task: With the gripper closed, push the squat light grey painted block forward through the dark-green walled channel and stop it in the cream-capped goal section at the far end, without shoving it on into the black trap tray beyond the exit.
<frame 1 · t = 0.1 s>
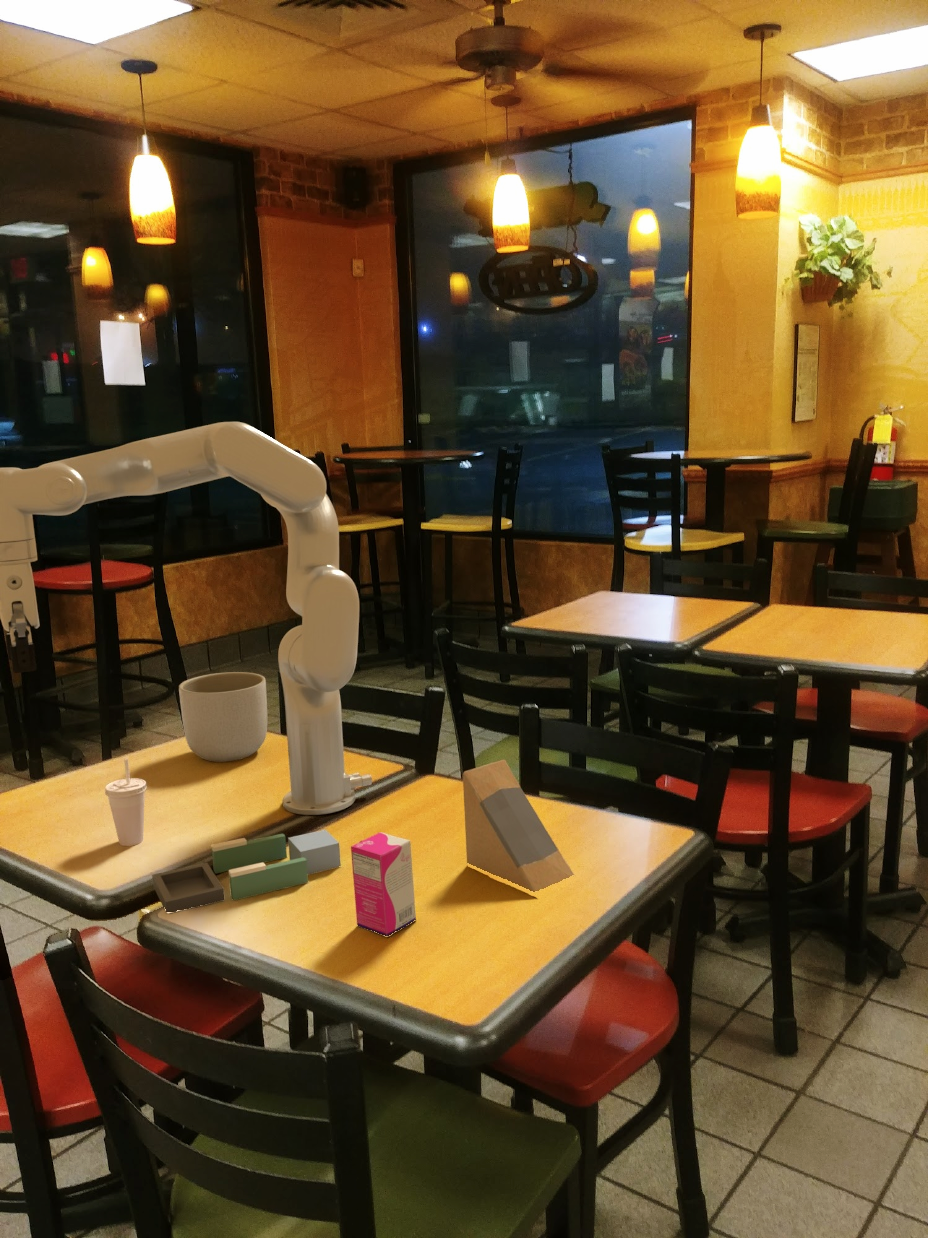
hand: (22, 665, 154), 31 cm above the table, fingers open, 9 cm apart
sandwich container: (521, 876, 149), on the table
trap tray: (188, 893, 147), on the table
smoothie: (131, 842, 166), on the table
tunnel: (260, 876, 151), on the table
block: (315, 865, 155), on the table
supplement box: (386, 925, 136), on the table
planter: (228, 755, 208), on the table
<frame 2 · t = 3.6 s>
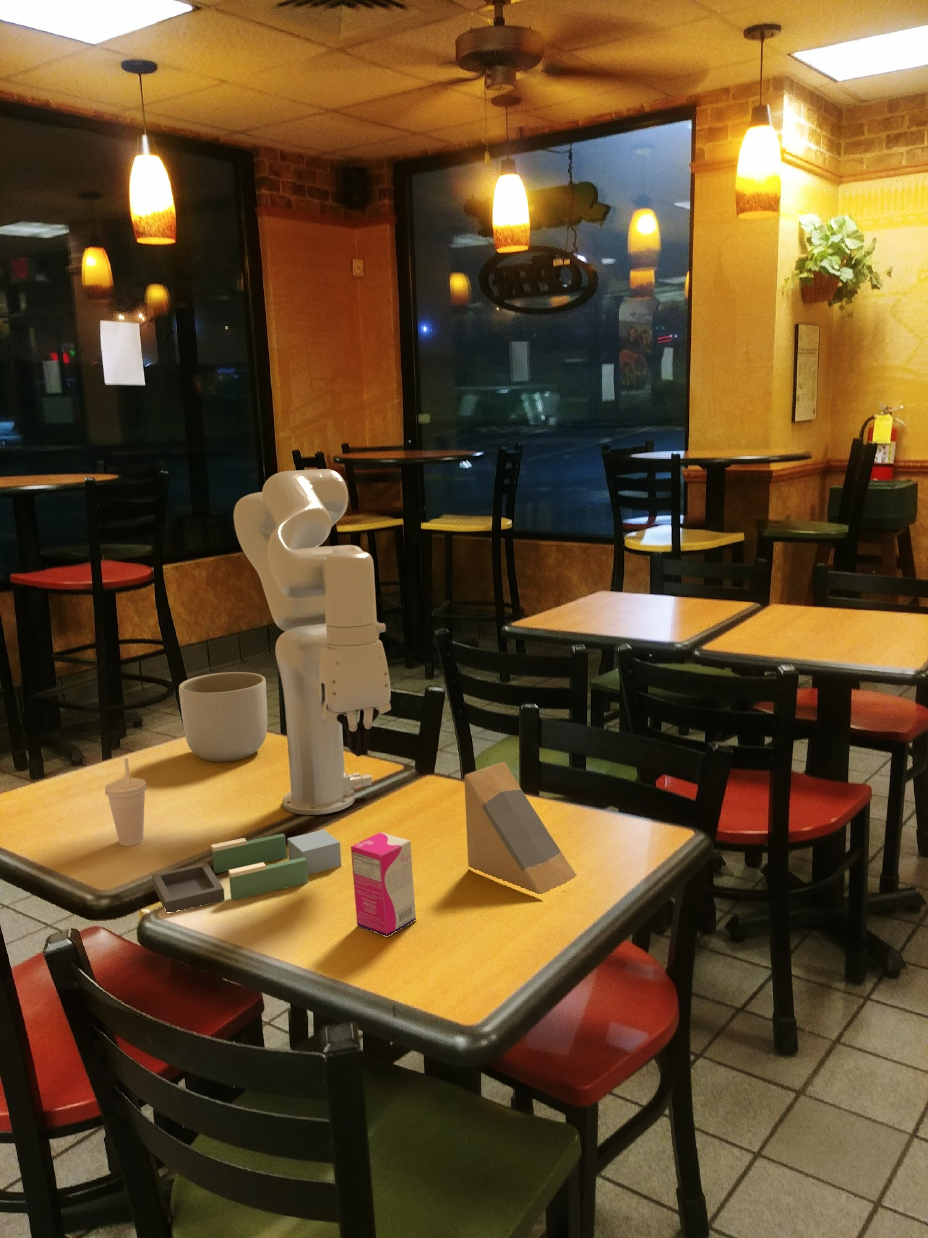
hand: (359, 753, 155), 16 cm above the table, fingers closed
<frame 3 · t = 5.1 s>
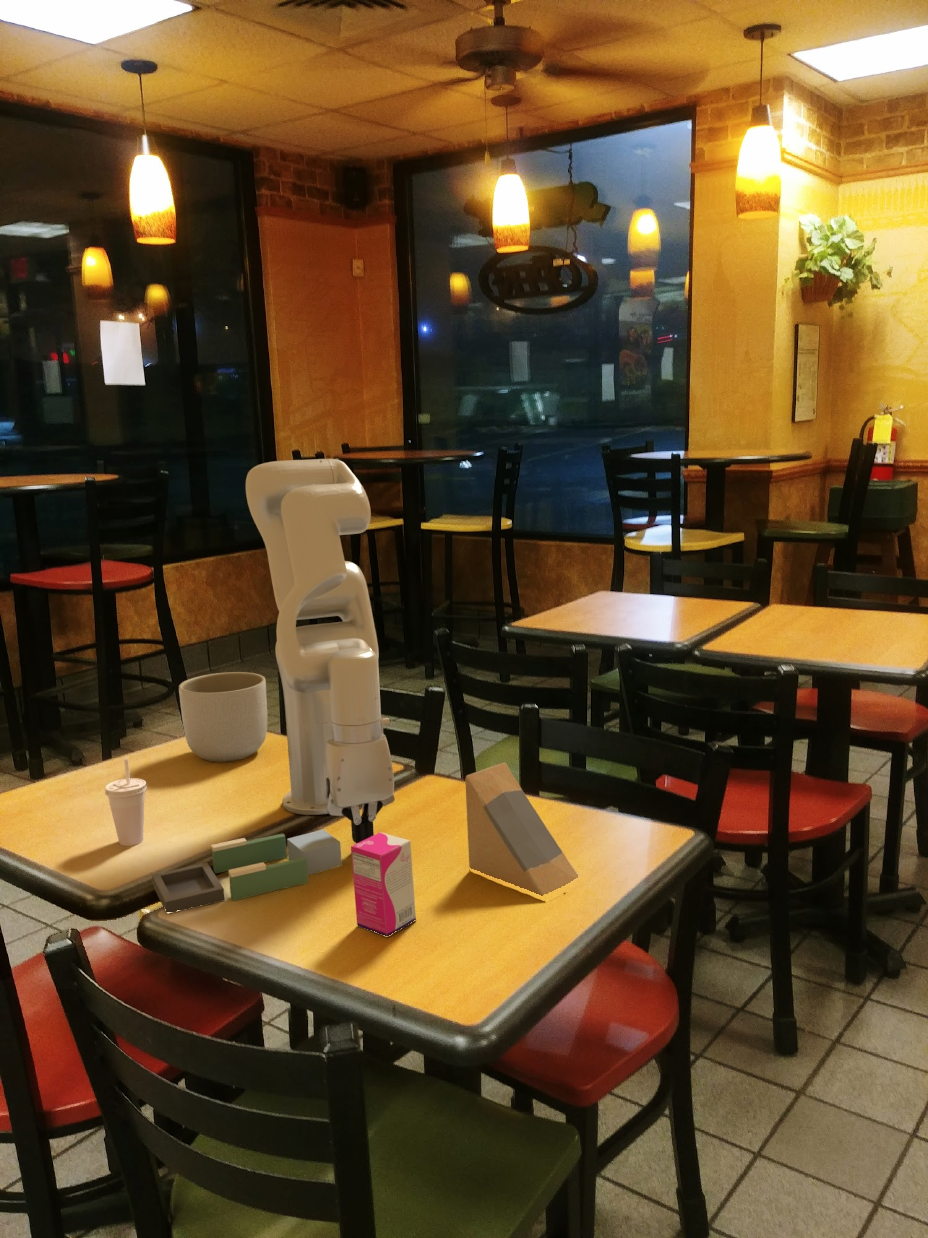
hand: (363, 844, 158), 1 cm above the table, fingers closed
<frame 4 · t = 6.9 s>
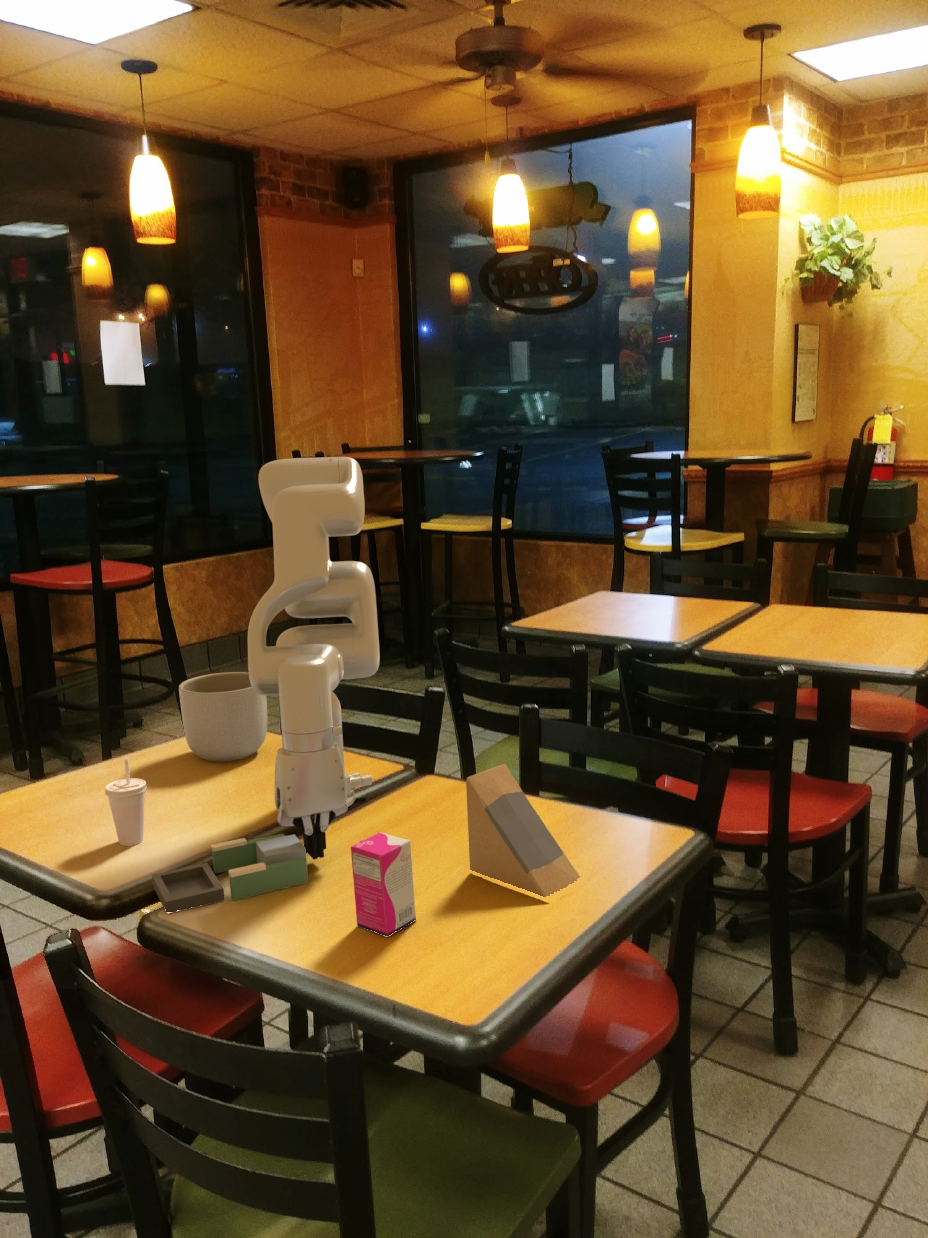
hand: (315, 855, 155), 1 cm above the table, fingers closed
block: (282, 870, 153), on the table
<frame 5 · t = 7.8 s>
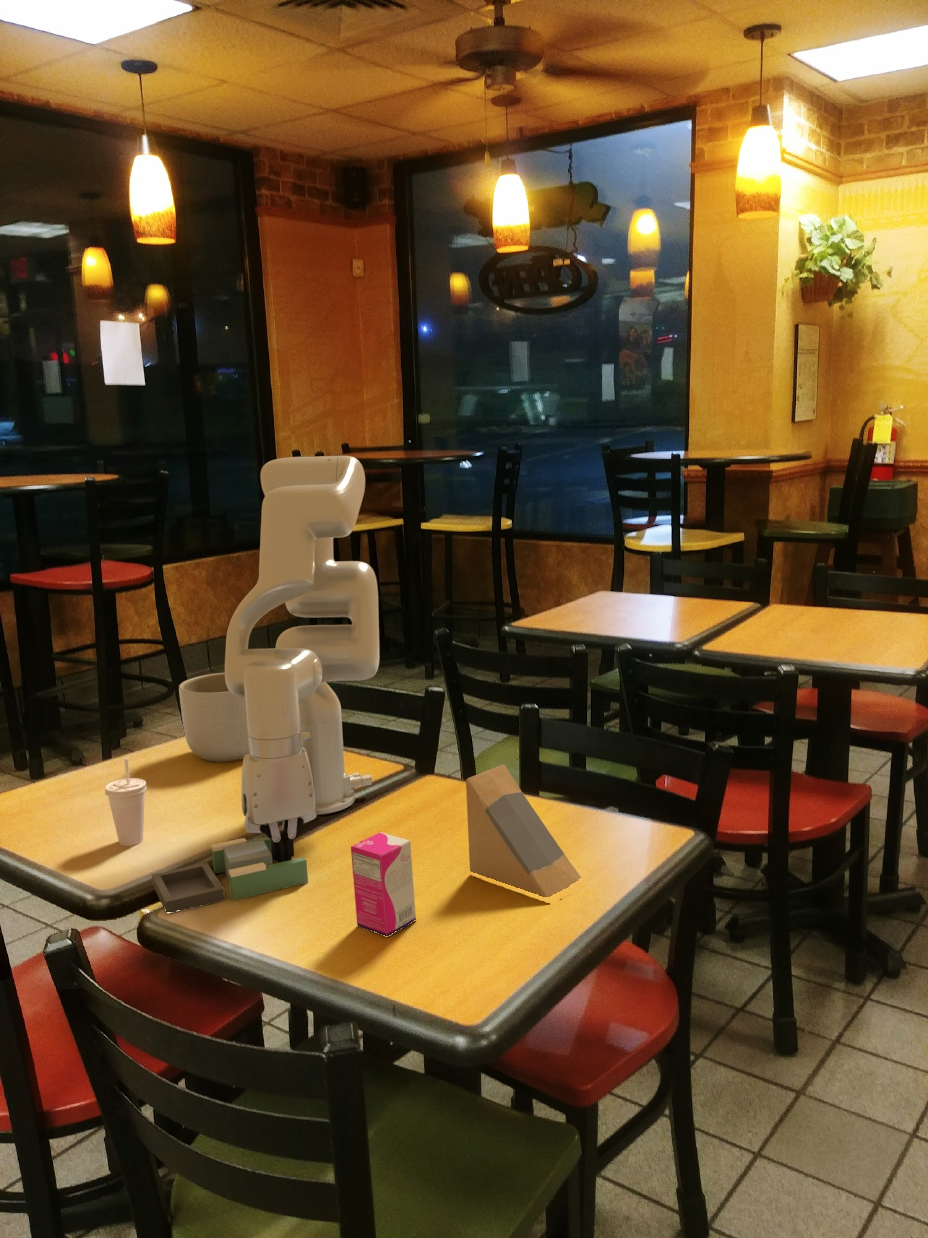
hand: (283, 862, 152), 1 cm above the table, fingers closed
block: (249, 876, 152), on the table, touching gripper
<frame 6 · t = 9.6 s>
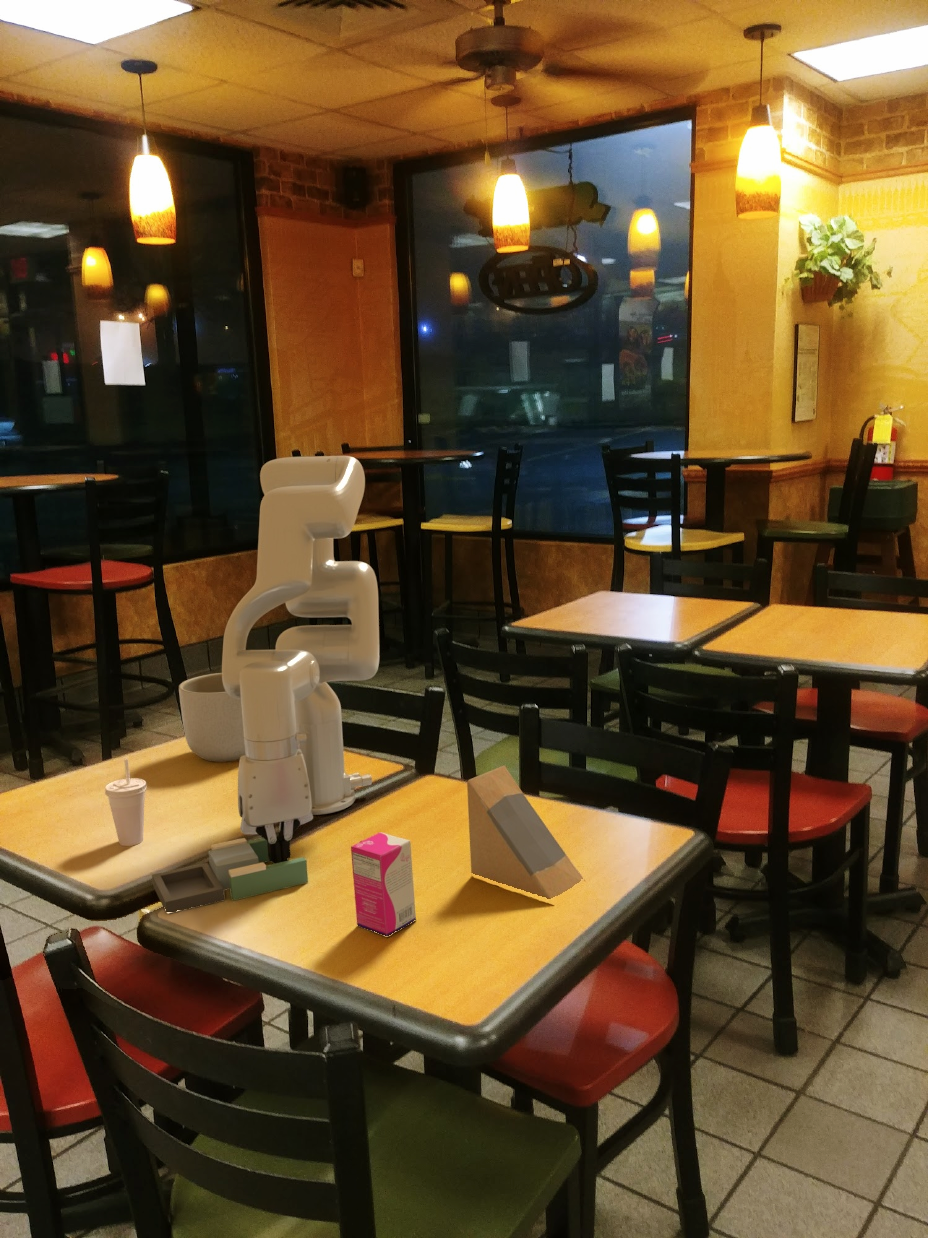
hand: (280, 864, 152), 1 cm above the table, fingers closed
block: (235, 880, 151), on the table
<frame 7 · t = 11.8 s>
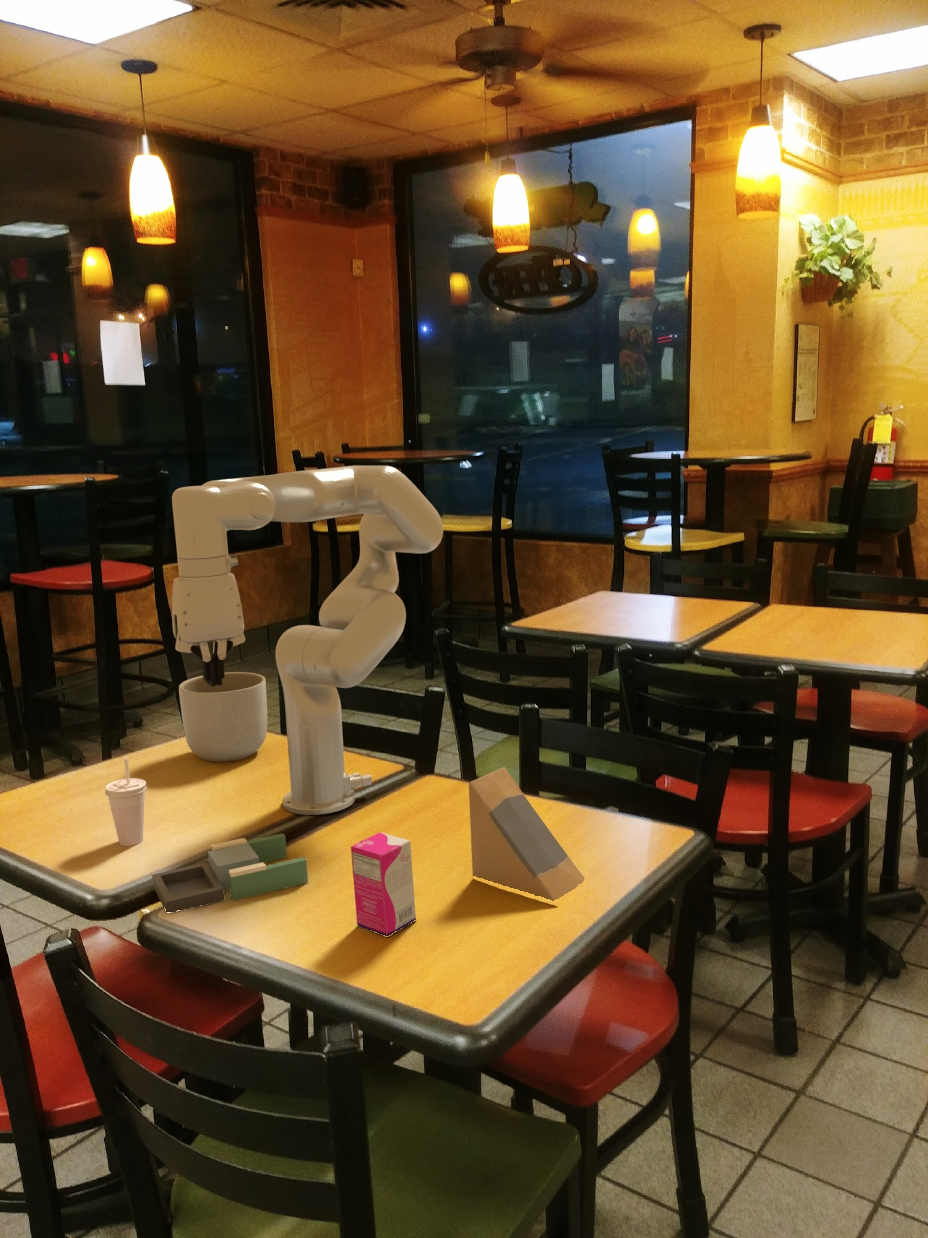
hand: (214, 684, 160), 26 cm above the table, fingers closed
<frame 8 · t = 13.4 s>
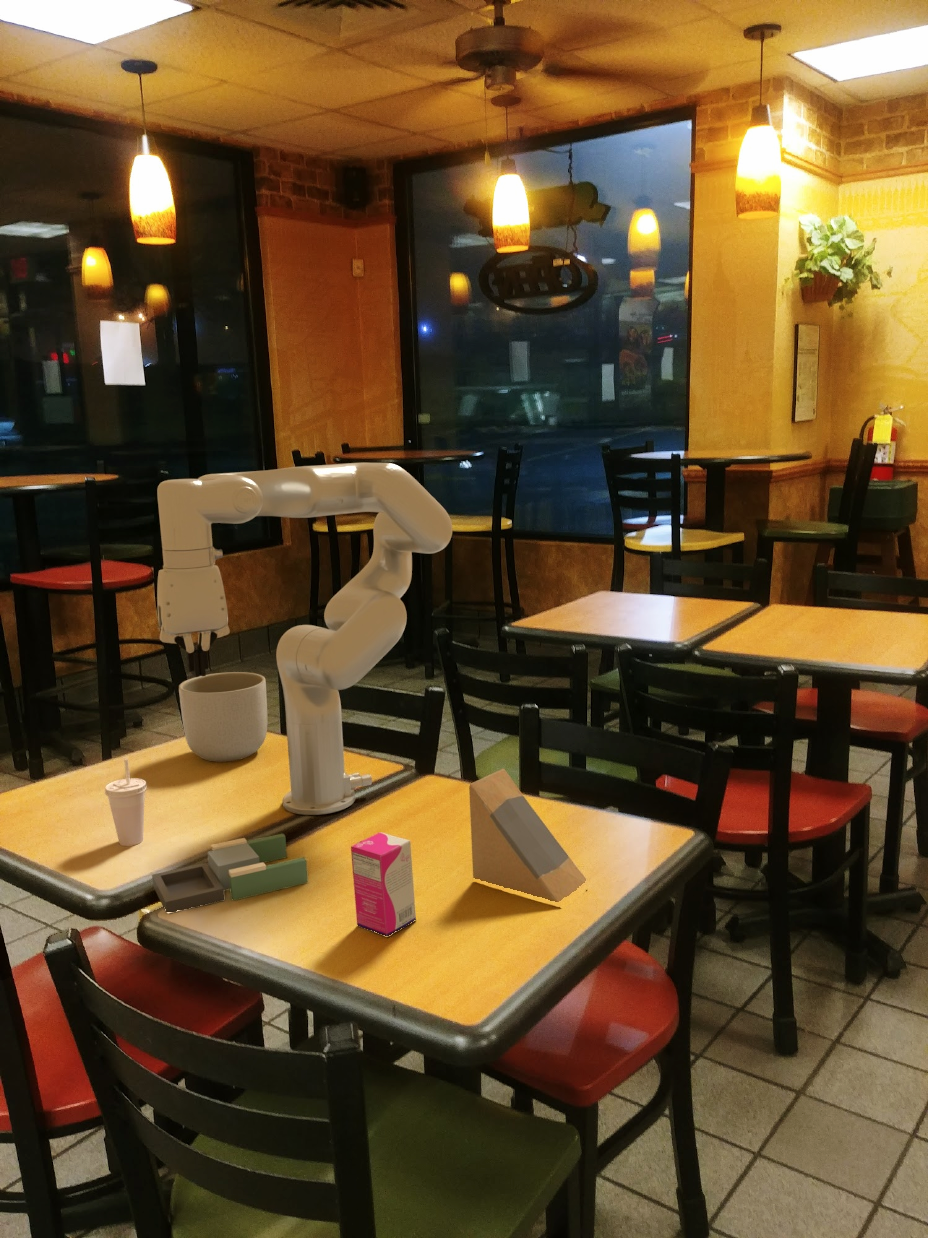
hand: (198, 674, 162), 27 cm above the table, fingers closed
at the end: block inside the target area (1.5 cm from its centre), on the table; block tilted 0°; block touching table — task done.
